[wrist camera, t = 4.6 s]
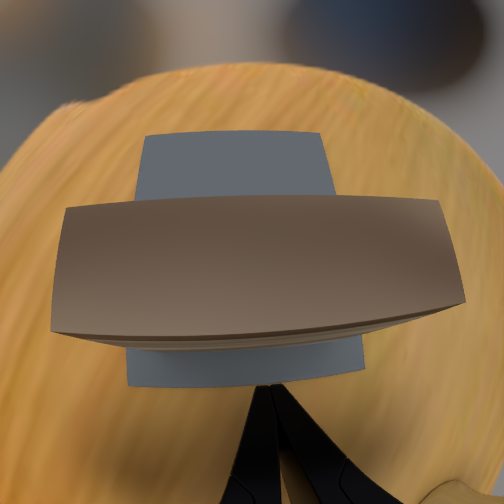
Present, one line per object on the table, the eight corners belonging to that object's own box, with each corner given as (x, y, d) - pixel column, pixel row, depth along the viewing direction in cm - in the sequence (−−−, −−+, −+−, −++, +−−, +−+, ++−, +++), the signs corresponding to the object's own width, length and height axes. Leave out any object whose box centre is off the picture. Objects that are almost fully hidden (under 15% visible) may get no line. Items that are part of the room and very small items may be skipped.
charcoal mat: (361, 368, 16) (365, 368, 16) (130, 385, 15) (127, 385, 14) (317, 137, 23) (319, 133, 22) (146, 140, 21) (145, 136, 21)
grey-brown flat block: (332, 341, 16) (465, 302, 6) (159, 352, 15) (50, 331, 5) (326, 292, 17) (438, 200, 7) (158, 301, 16) (66, 207, 6)
